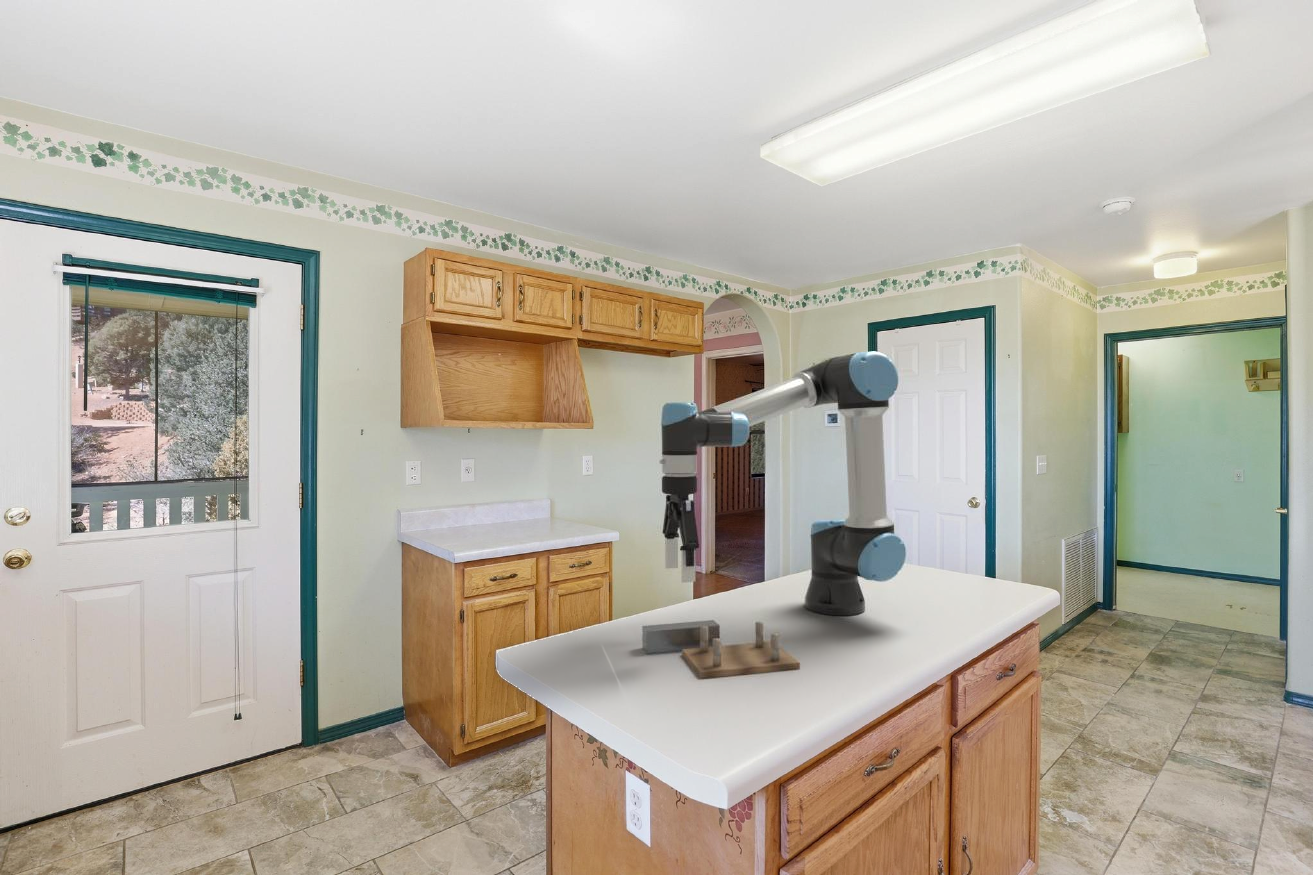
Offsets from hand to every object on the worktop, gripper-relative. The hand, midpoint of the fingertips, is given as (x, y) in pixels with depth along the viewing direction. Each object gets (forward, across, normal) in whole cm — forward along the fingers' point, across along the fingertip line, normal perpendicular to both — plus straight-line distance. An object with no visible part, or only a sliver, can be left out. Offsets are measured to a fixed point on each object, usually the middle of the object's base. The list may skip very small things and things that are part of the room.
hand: (679, 574), depth 137 cm
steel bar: (+16, 0, 0) cm, 16 cm away
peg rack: (+16, +11, +9) cm, 21 cm away
